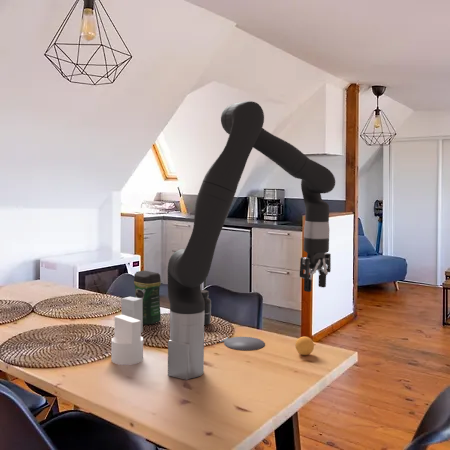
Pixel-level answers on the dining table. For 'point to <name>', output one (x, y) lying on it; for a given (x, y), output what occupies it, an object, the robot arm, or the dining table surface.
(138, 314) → the skincare box
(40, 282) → the dining table surface
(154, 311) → the coffee jar
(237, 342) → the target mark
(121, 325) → the cylinder with rectangular tab
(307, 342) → the ball
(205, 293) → the supplement bottle
